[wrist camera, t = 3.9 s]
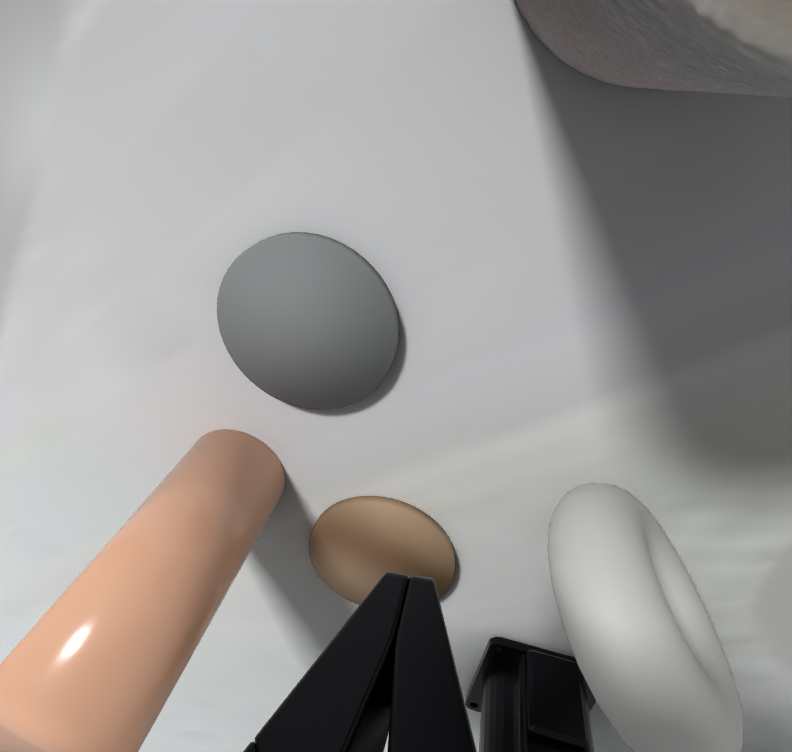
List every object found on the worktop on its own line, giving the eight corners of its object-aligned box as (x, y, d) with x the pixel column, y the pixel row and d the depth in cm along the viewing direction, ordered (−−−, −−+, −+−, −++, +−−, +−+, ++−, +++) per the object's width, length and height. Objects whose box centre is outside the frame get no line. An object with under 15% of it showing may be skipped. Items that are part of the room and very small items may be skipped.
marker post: (282, 518, 28) (129, 809, 17) (193, 495, 28) (-15, 762, 17) (288, 443, 25) (113, 725, 14) (190, 418, 26) (-55, 673, 15)
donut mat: (438, 617, 29) (437, 627, 29) (307, 581, 30) (303, 590, 29) (470, 519, 25) (469, 528, 25) (319, 479, 26) (315, 487, 26)
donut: (524, 455, 23) (533, 672, 15) (598, 421, 22) (657, 641, 13) (632, 600, 26) (693, 854, 17) (704, 578, 25) (810, 845, 16)
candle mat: (383, 420, 24) (381, 427, 23) (223, 380, 24) (217, 386, 24) (414, 255, 20) (412, 260, 19) (223, 213, 20) (216, 216, 20)
